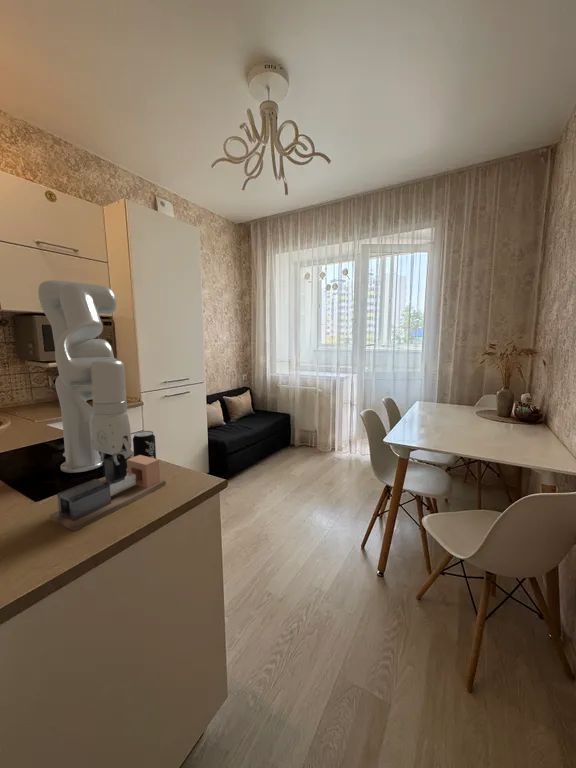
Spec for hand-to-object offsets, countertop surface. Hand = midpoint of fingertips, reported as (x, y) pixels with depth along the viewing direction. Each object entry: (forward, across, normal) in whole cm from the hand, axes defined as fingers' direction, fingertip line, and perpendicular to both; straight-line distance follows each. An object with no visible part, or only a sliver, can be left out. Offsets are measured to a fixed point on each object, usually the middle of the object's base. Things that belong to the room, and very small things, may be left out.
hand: (115, 475), depth 84 cm
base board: (+7, 0, -1) cm, 7 cm away
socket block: (+5, 0, +9) cm, 10 cm away
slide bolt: (+4, 0, -3) cm, 5 cm away
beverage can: (+7, -10, +18) cm, 21 cm away
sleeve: (+5, 0, -8) cm, 10 cm away
